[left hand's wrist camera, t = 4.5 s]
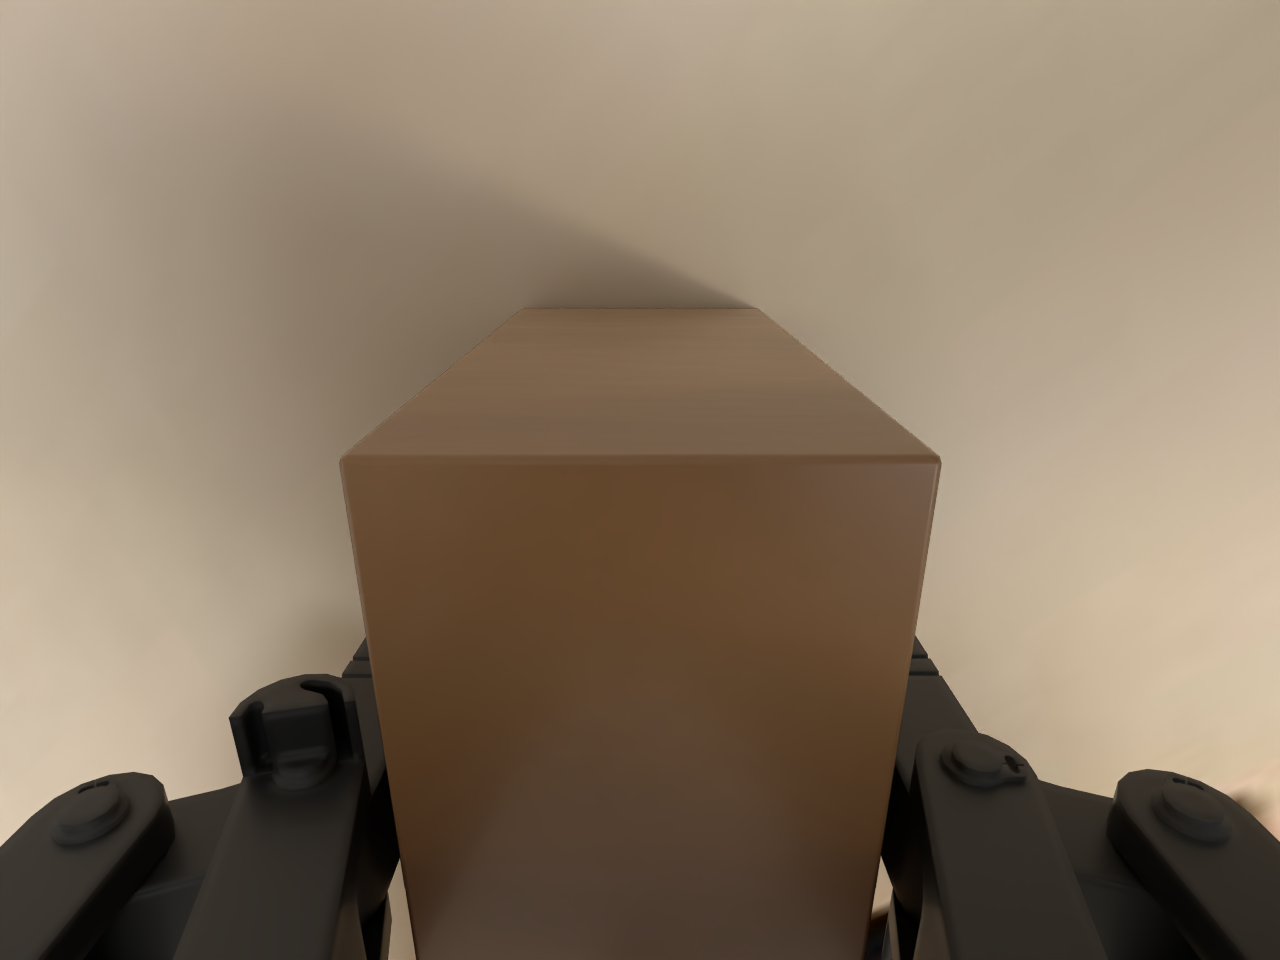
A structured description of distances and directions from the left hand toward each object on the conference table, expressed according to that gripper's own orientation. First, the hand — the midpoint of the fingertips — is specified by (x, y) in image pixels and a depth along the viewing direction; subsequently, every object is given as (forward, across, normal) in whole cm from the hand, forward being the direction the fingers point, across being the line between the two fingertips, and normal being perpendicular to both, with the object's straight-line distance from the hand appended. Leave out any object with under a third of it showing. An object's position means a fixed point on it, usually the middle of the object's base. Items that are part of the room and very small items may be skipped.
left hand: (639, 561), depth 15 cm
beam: (+1, 0, -29) cm, 29 cm away
